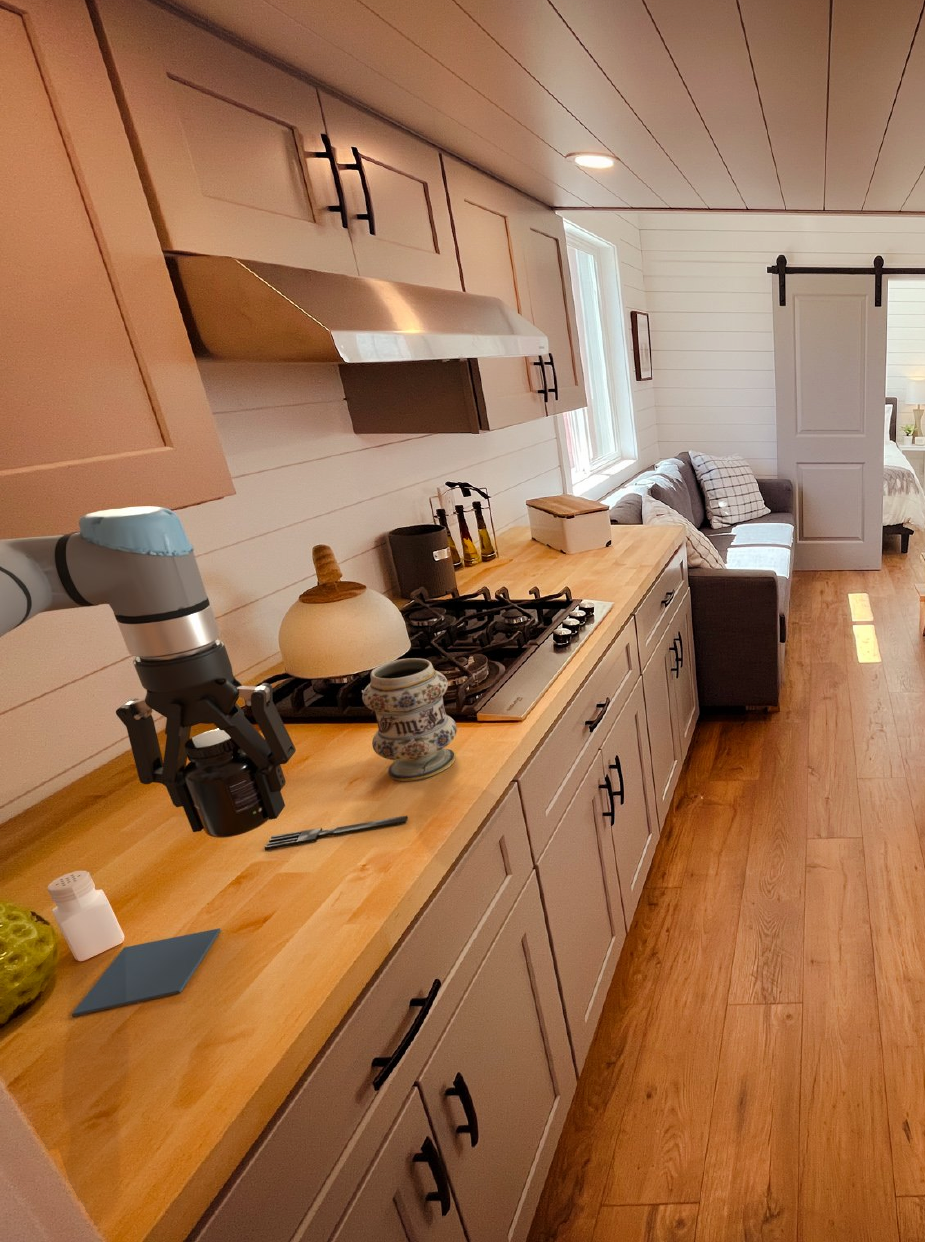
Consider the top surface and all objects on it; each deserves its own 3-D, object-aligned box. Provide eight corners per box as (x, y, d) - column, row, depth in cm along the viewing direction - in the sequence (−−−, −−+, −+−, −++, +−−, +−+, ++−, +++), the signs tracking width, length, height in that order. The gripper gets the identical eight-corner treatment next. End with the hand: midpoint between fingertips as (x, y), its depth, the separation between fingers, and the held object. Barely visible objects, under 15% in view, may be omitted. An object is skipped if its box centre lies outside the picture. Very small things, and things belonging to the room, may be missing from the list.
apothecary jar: (479, 751, 118) (460, 657, 112) (423, 790, 107) (399, 689, 101) (421, 741, 121) (400, 649, 115) (362, 779, 110) (335, 679, 104)
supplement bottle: (189, 837, 81) (154, 750, 76) (243, 802, 87) (214, 720, 83) (239, 842, 80) (207, 755, 76) (291, 807, 86) (263, 724, 82)
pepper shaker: (119, 926, 81) (89, 862, 78) (127, 942, 79) (97, 877, 75) (70, 948, 78) (38, 883, 75) (78, 965, 76) (44, 898, 72)
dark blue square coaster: (72, 1017, 70) (70, 1014, 70) (125, 949, 78) (124, 947, 78) (180, 993, 73) (179, 990, 72) (220, 930, 81) (219, 928, 80)
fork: (265, 850, 94) (264, 847, 94) (272, 838, 96) (271, 835, 96) (404, 826, 99) (404, 823, 99) (408, 815, 101) (408, 812, 101)
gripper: (296, 625, 81) (344, 786, 90) (86, 645, 75) (157, 816, 83) (270, 649, 75) (324, 821, 83) (37, 673, 69) (119, 856, 77)
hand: (240, 818), depth 83 cm, fingers closed on supplement bottle, 7 cm apart
